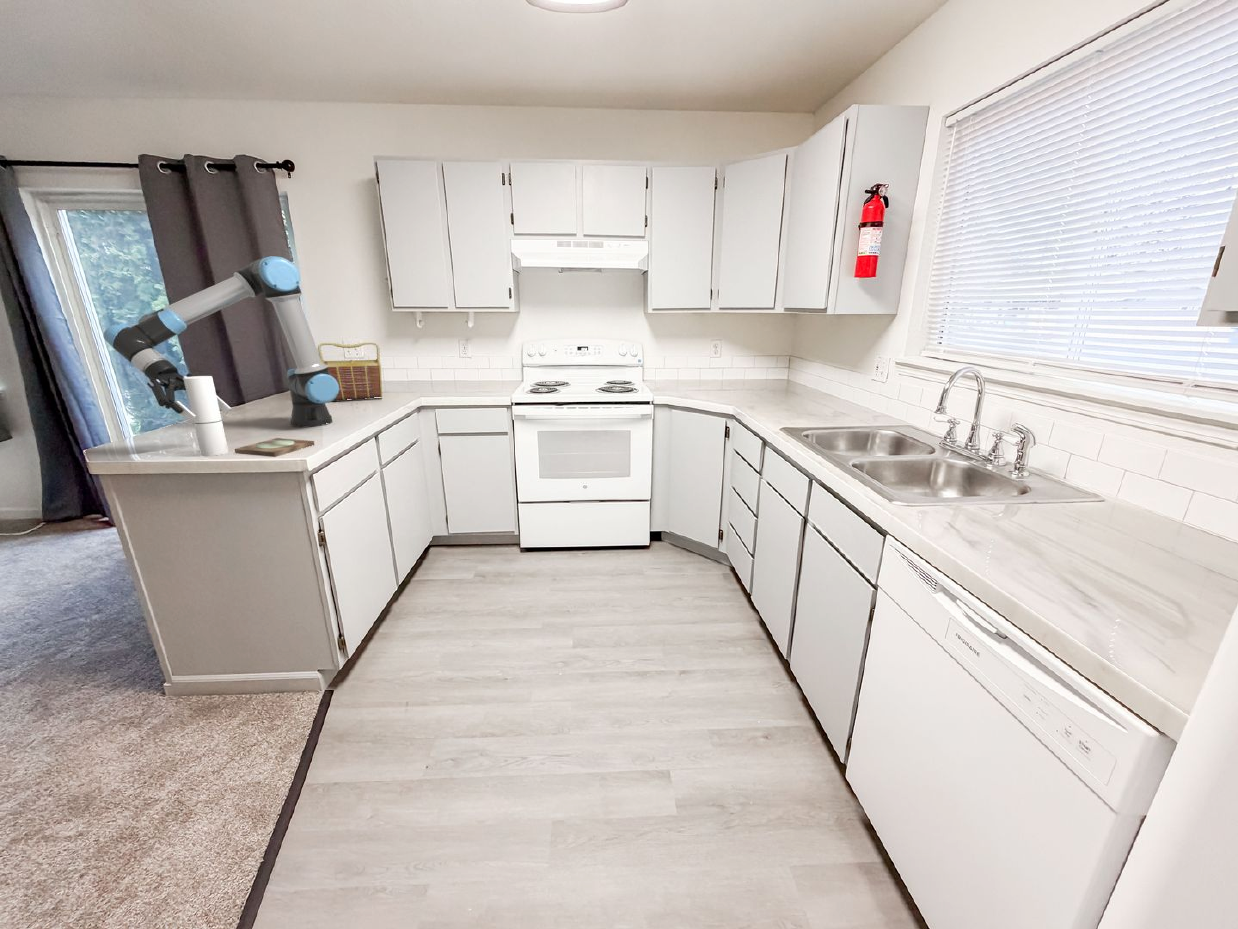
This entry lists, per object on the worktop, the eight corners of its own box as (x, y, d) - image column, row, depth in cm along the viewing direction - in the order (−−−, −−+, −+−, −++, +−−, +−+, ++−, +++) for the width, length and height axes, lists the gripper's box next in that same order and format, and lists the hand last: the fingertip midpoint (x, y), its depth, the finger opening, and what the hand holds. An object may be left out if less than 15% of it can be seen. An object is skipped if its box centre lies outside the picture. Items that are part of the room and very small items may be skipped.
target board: (277, 442, 180) (276, 437, 180) (314, 445, 177) (313, 440, 176) (235, 453, 166) (234, 448, 165) (274, 456, 162) (273, 451, 161)
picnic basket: (325, 404, 256) (315, 344, 248) (326, 397, 278) (317, 341, 270) (387, 400, 270) (380, 343, 261) (383, 394, 291) (377, 341, 283)
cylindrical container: (225, 449, 170) (208, 375, 163) (231, 453, 165) (215, 377, 158) (198, 453, 164) (180, 377, 157) (204, 457, 160) (186, 379, 153)
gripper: (185, 371, 171) (236, 415, 174) (109, 380, 147) (169, 431, 150) (196, 355, 169) (247, 400, 172) (121, 362, 145) (182, 414, 148)
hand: (211, 415), depth 161 cm, fingers open, 13 cm apart
